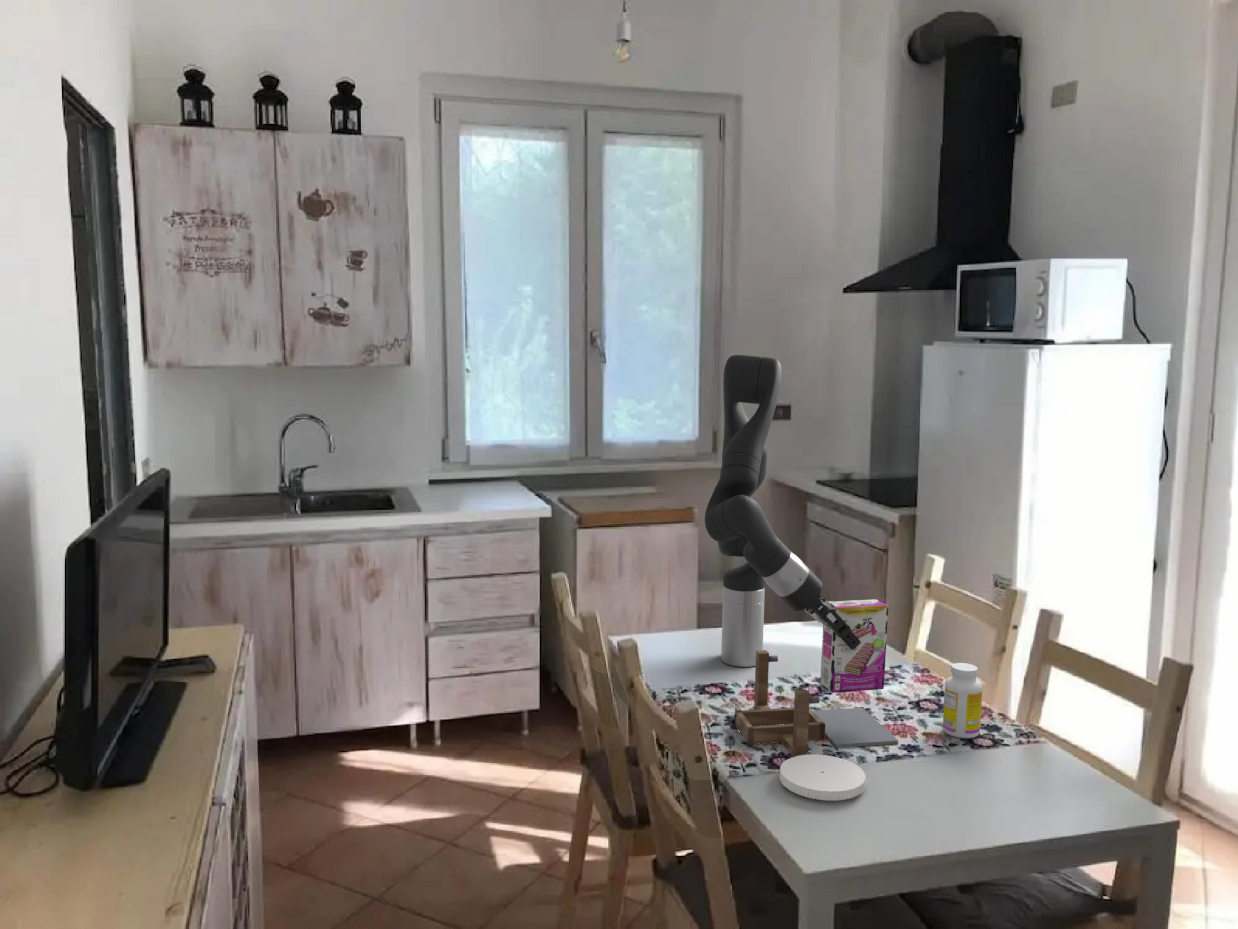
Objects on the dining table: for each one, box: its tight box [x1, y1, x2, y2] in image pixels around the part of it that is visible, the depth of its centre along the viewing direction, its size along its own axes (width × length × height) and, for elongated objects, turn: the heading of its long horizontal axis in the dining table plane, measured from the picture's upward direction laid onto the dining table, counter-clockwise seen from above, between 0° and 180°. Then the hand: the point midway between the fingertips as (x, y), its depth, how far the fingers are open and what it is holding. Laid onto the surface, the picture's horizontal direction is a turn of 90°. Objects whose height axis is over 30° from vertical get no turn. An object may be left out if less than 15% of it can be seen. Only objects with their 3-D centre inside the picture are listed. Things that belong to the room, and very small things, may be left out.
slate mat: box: [812, 707, 899, 749], centre depth 196 cm, size 16×12×1 cm
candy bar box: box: [819, 598, 889, 694], centre depth 194 cm, size 11×5×16 cm, turn 105°
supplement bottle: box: [942, 662, 983, 739], centre depth 194 cm, size 7×7×13 cm
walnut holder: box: [734, 649, 826, 757], centre depth 193 cm, size 24×15×12 cm, turn 10°
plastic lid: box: [779, 753, 867, 802], centre depth 172 cm, size 14×14×2 cm
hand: (849, 640), depth 194 cm, fingers closed on candy bar box, 5 cm apart
